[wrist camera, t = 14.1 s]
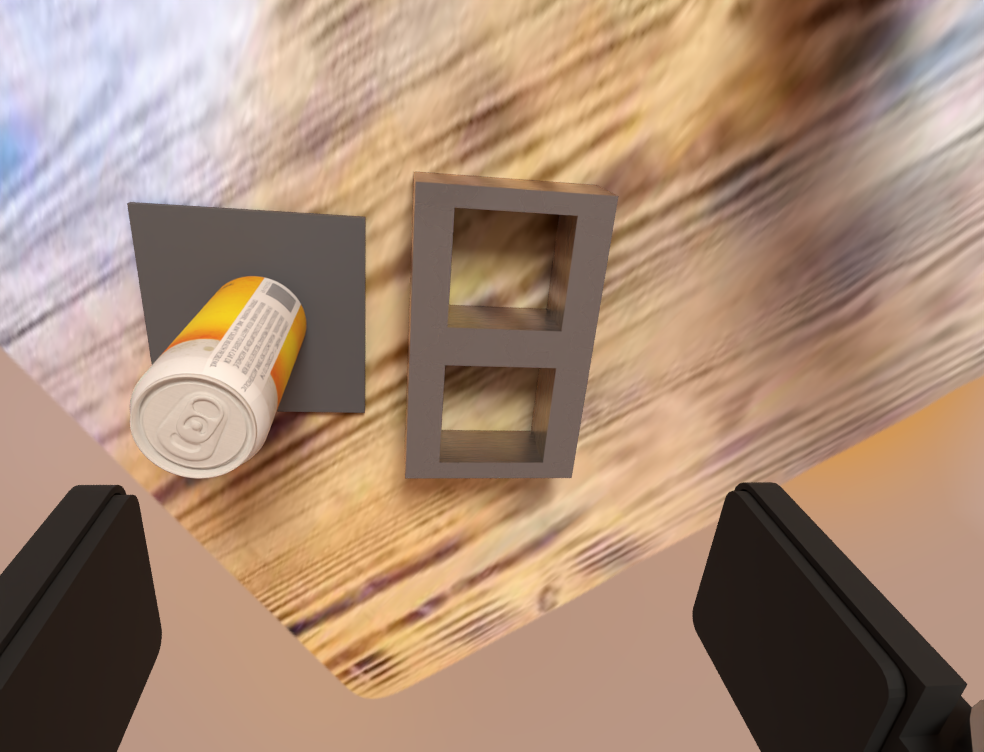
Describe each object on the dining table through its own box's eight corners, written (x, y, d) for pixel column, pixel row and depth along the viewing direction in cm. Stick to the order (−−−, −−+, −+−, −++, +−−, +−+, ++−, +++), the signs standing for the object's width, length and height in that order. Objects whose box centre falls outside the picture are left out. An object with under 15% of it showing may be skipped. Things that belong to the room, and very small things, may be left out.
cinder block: (413, 171, 39) (415, 181, 35) (596, 185, 41) (618, 196, 37) (404, 444, 47) (405, 478, 43) (557, 445, 49) (571, 477, 45)
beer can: (195, 329, 41) (96, 448, 27) (239, 254, 39) (157, 341, 26) (280, 374, 43) (226, 505, 30) (325, 305, 41) (289, 410, 28)
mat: (130, 202, 38) (127, 203, 37) (365, 216, 40) (364, 218, 39) (161, 406, 43) (158, 409, 43) (364, 409, 46) (364, 412, 45)
